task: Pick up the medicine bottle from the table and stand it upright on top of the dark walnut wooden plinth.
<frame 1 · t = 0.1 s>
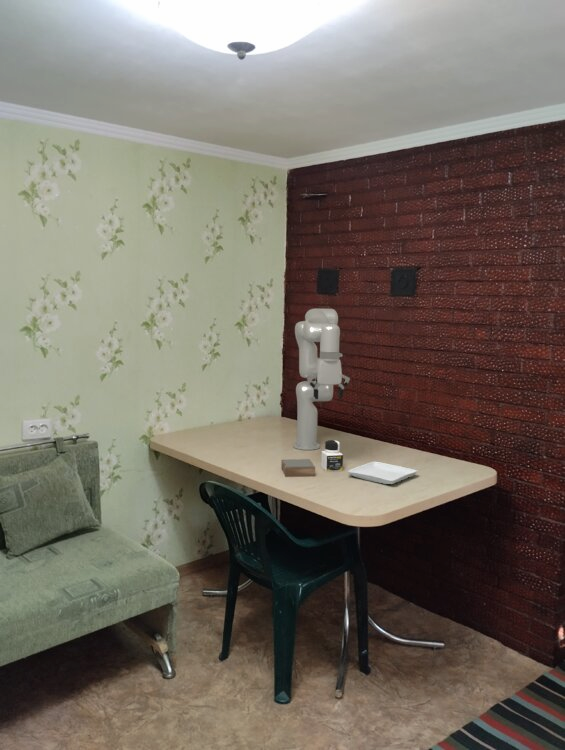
hand: (328, 398, 256), 31 cm above the table, tool pointing down, fingers open, 9 cm apart
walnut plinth: (297, 472, 261), on the table
medicine bottle: (331, 469, 267), on the table
salad plate: (382, 478, 257), on the table
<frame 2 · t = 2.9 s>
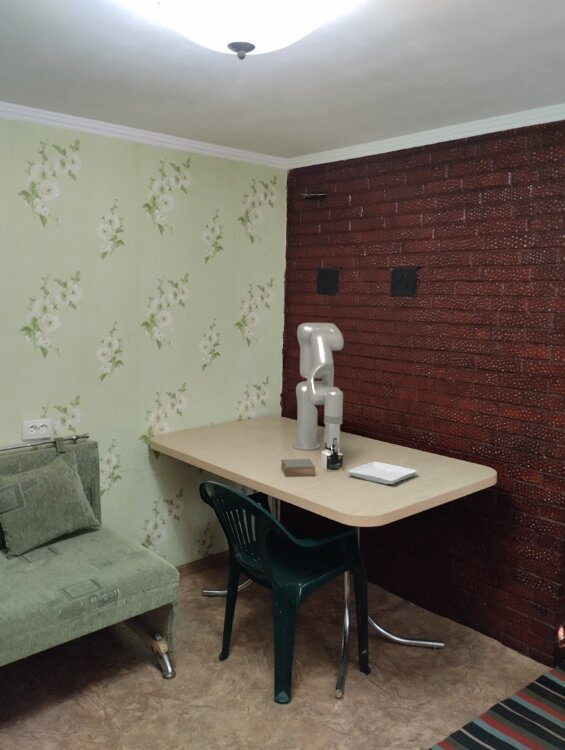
hand: (331, 460, 267), 3 cm above the table, tool pointing down, fingers closed on medicine bottle, 7 cm apart
medicine bottle: (331, 469, 267), on the table, touching gripper
everything else where it was.
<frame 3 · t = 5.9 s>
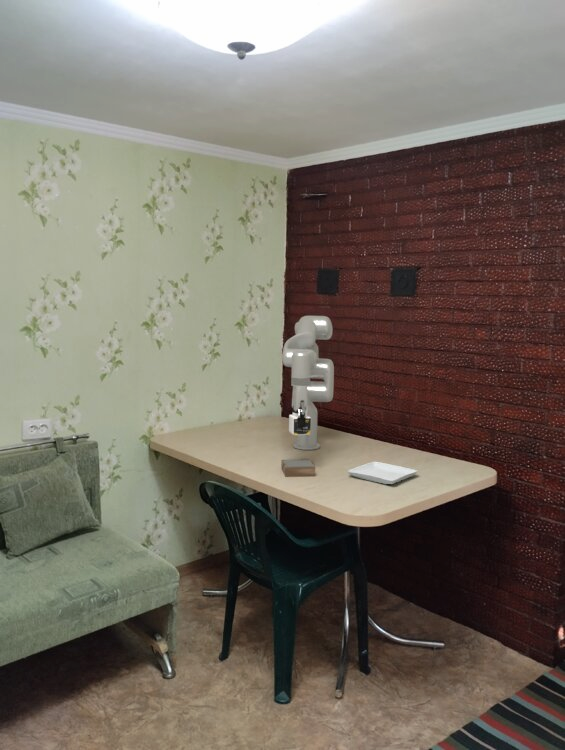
hand: (299, 424, 259), 20 cm above the table, tool pointing down, fingers closed on medicine bottle, 7 cm apart
medicine bottle: (299, 433, 259), point 16 cm above the table, touching gripper
everything else where it was.
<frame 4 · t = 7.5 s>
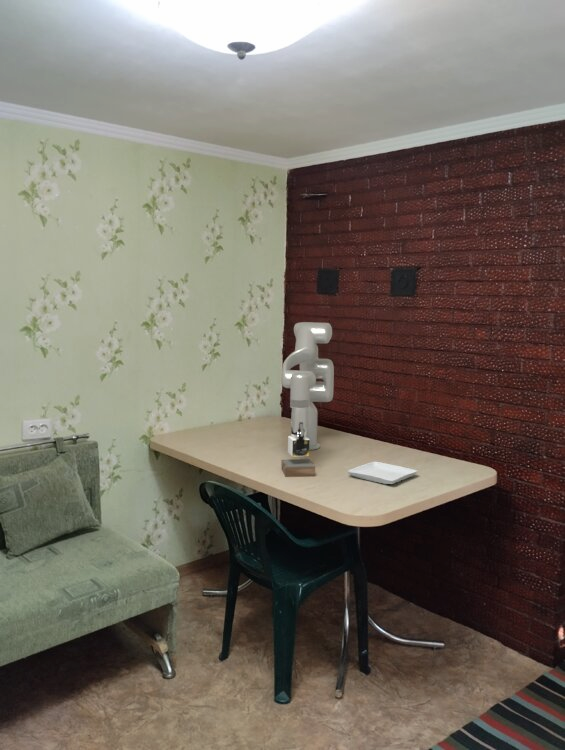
hand: (298, 446, 260), 11 cm above the table, tool pointing down, fingers closed on medicine bottle, 7 cm apart
medicine bottle: (298, 455, 260), point 7 cm above the table, touching gripper
everything else where it was.
when the fingers open (8 cm above the table, at t = 9.0 s): medicine bottle stays where it is, resting on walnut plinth.
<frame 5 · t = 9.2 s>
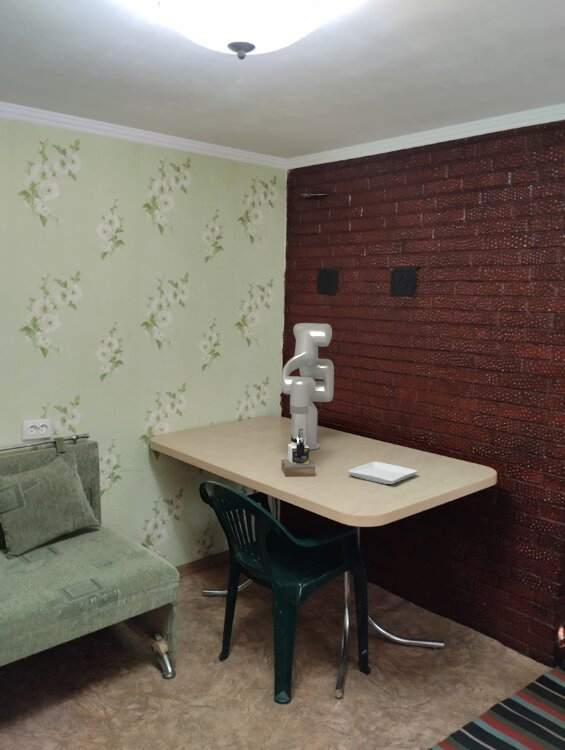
hand: (298, 451, 260), 9 cm above the table, tool pointing down, fingers open, 9 cm apart
medicine bottle: (298, 463, 261), point 4 cm above the table, touching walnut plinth
everything else where it was.
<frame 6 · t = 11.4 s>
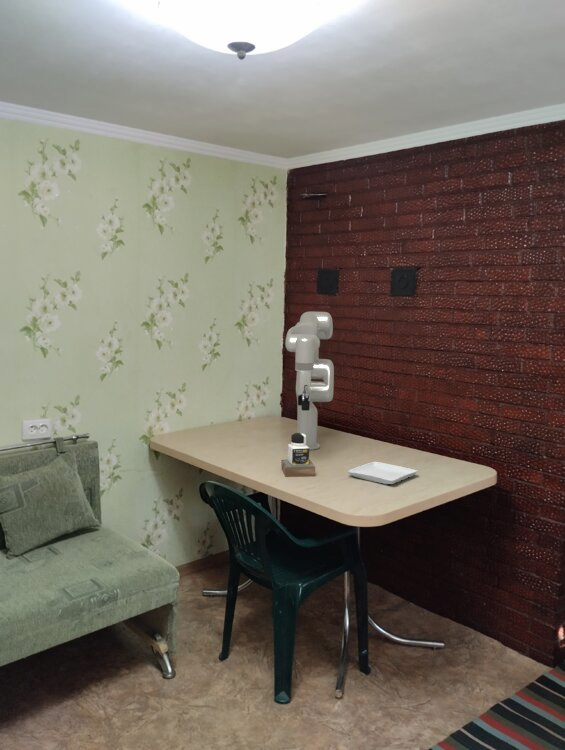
hand: (303, 407, 264), 26 cm above the table, tool pointing down, fingers open, 9 cm apart
nothing on the table moved.
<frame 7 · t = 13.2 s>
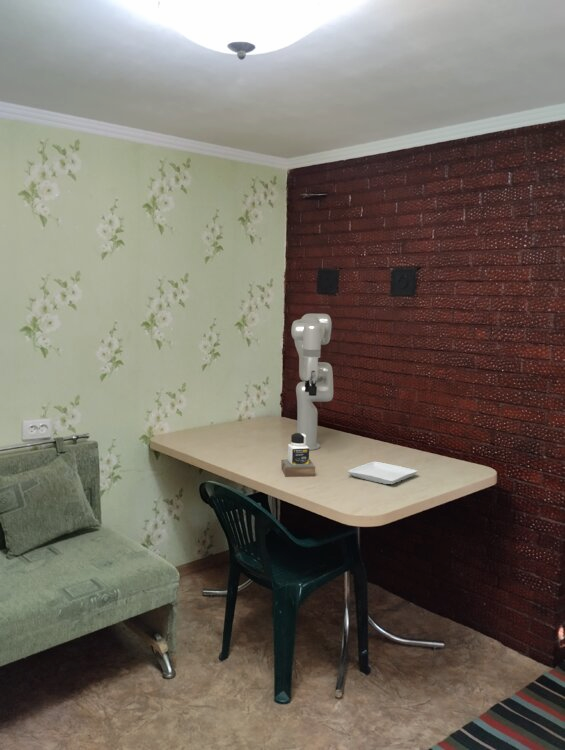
hand: (310, 393, 272), 30 cm above the table, tool pointing down, fingers open, 9 cm apart
nothing on the table moved.
at the end: medicine bottle inside the target area on the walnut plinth (0.1 cm from its centre), point 3.8 cm above the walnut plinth's base; medicine bottle tilted 0°; the gripper is holding nothing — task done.
